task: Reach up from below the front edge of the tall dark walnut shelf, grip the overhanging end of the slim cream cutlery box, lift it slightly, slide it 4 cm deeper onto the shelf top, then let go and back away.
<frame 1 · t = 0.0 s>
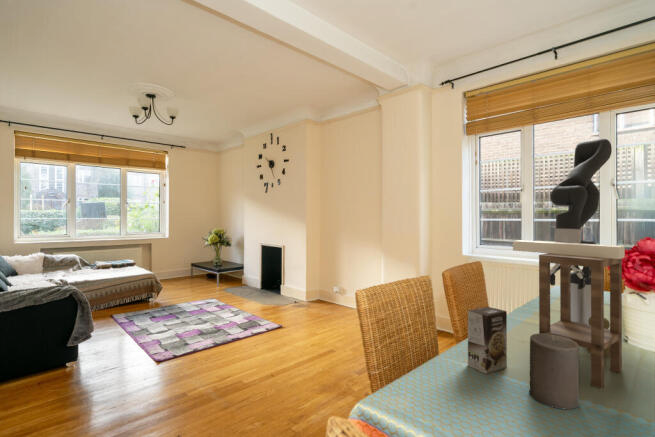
hand: (566, 287, 118), 17 cm above the table, tool pointing down, fingers open, 8 cm apart
cutlery box: (563, 253, 95), point 32 cm above the table, touching walnut shelf
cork: (598, 353, 103), on the table
walnut shelf: (580, 369, 92), on the table
coffee box: (487, 367, 95), on the table
pillar candle: (553, 398, 78), on the table
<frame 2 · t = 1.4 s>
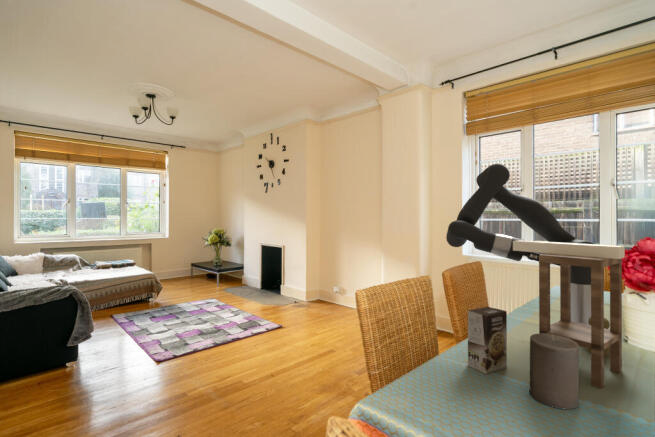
hand: (562, 261, 107), 28 cm above the table, tool tilted 75°, fingers open, 7 cm apart
nothing on the table moved.
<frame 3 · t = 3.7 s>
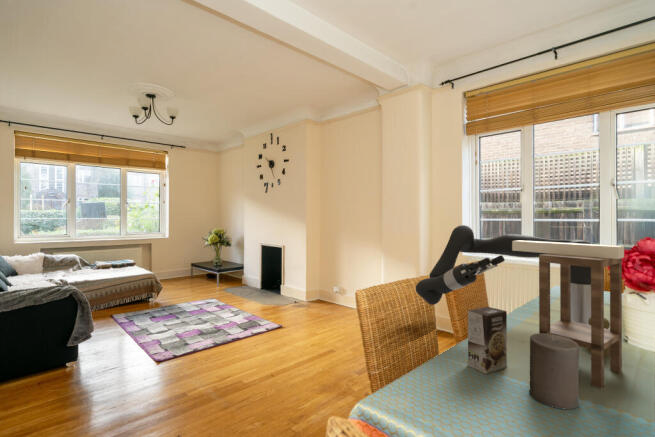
hand: (496, 258, 112), 28 cm above the table, tool pointing upward, fingers open, 8 cm apart
nothing on the table moved.
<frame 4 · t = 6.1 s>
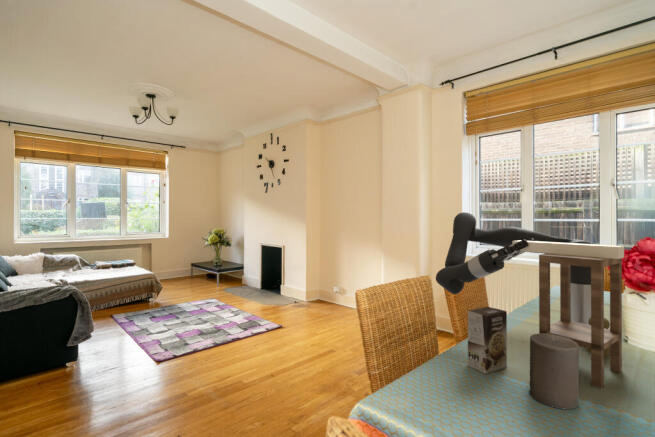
hand: (530, 241, 103), 35 cm above the table, tool pointing upward, fingers closed on cutlery box, 4 cm apart
cutlery box: (562, 253, 95), point 32 cm above the table, touching gripper, walnut shelf
everything else where it was.
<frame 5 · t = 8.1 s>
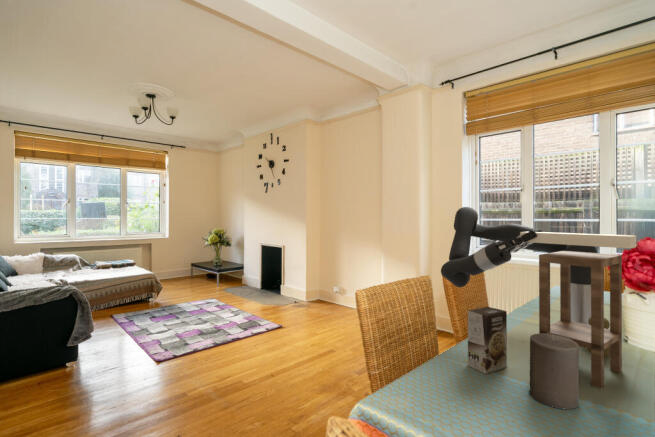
hand: (539, 232, 101), 38 cm above the table, tool pointing upward, fingers closed on cutlery box, 4 cm apart
cutlery box: (572, 244, 93), point 35 cm above the table, touching gripper
everything else where it was.
when the fingers open (36 cm above the table, at t = 9.6 s): cutlery box stays where it is, resting on walnut shelf.
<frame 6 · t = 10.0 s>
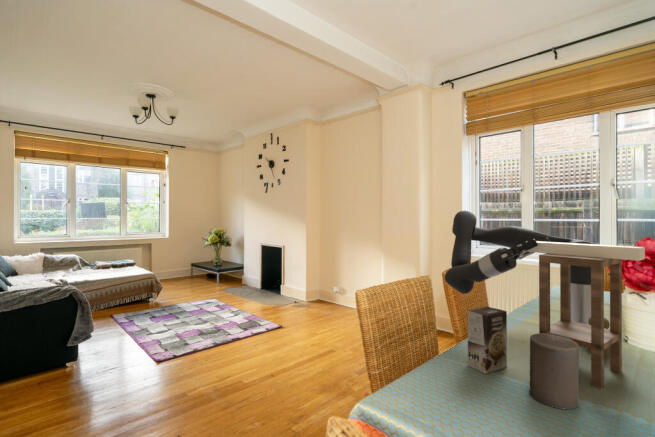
hand: (542, 241, 100), 35 cm above the table, tool pointing upward, fingers open, 8 cm apart
cutlery box: (579, 254, 92), point 32 cm above the table, touching walnut shelf
everything else where it was.
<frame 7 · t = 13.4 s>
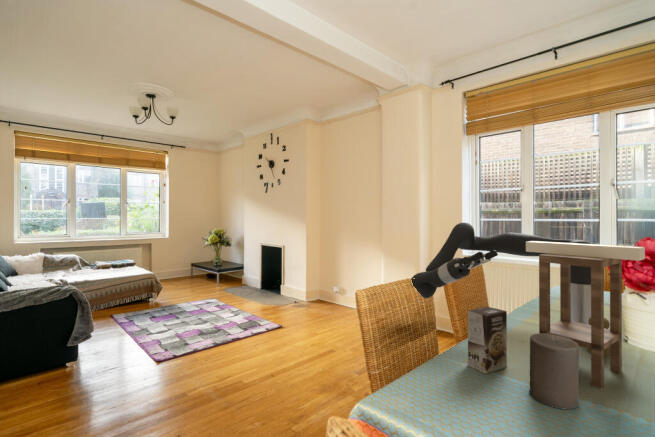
hand: (489, 253, 113), 30 cm above the table, tool pointing upward, fingers open, 8 cm apart
nothing on the table moved.
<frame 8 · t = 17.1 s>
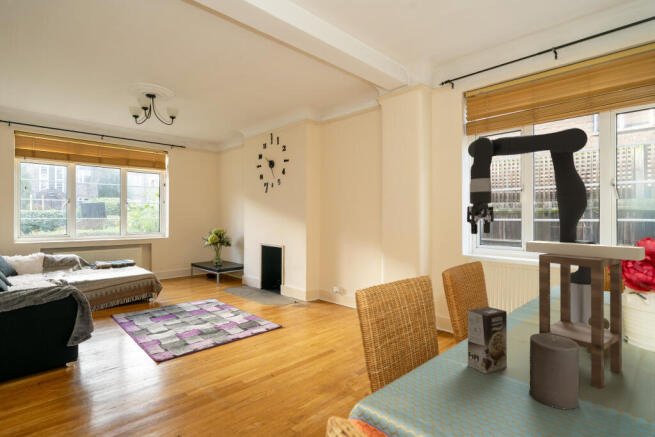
hand: (480, 233, 127), 36 cm above the table, tool pointing down, fingers open, 8 cm apart
nothing on the table moved.
at the end: cutlery box 0.8 cm from the target spot, point 32.0 cm above the table; cutlery box touching walnut shelf; the gripper is holding nothing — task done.
